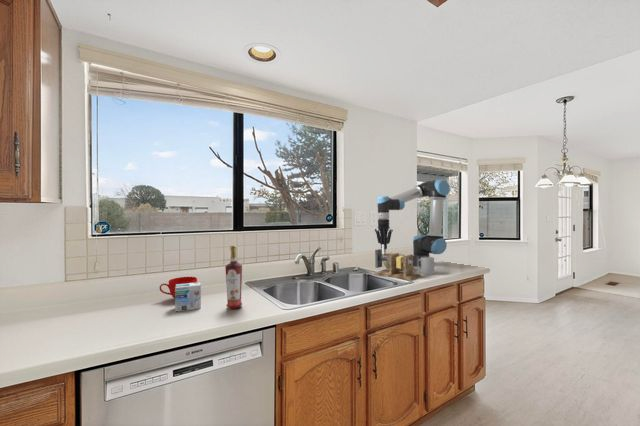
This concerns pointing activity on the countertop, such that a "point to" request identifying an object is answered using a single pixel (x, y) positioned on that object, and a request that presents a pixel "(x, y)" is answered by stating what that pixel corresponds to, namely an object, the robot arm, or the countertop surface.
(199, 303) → the light bulb box
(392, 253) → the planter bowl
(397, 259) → the collar
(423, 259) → the mug
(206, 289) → the countertop surface
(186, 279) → the ceramic cup
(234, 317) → the countertop surface
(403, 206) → the robot arm
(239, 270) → the liquor
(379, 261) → the shaft
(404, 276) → the bearing block
